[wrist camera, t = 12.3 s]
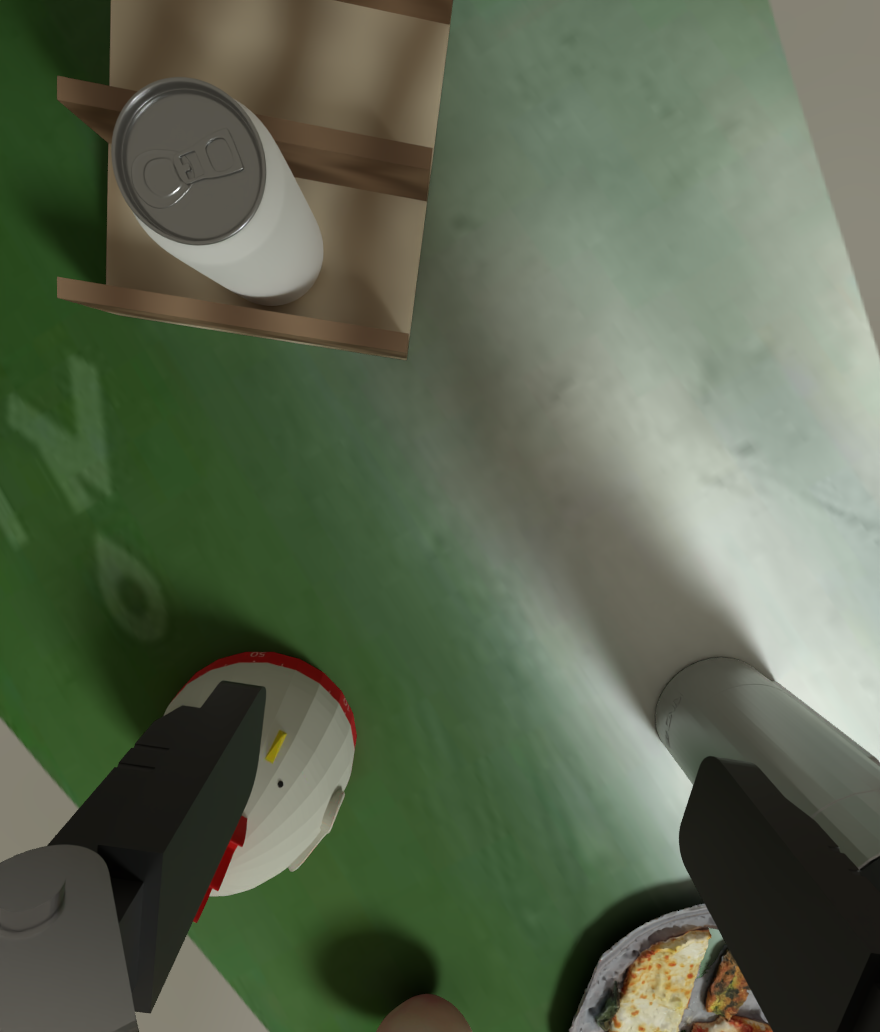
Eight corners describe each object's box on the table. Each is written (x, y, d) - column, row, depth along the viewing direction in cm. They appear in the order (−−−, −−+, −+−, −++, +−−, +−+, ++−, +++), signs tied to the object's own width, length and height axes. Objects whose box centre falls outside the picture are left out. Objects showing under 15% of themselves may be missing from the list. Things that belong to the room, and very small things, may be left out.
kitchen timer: (391, 711, 40) (382, 889, 26) (295, 843, 42) (236, 1077, 28) (227, 616, 38) (114, 753, 23) (133, 761, 40) (-24, 970, 25)
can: (194, 212, 31) (65, 100, 19) (299, 171, 31) (232, 34, 19) (242, 323, 32) (148, 281, 21) (342, 285, 32) (304, 222, 21)
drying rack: (450, 22, 31) (460, -65, 25) (406, 360, 35) (406, 352, 29) (127, -47, 29) (56, -157, 24) (118, 315, 33) (57, 297, 27)
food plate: (755, 1123, 52) (780, 1173, 49) (529, 1087, 50) (538, 1137, 46) (859, 909, 48) (894, 948, 44) (617, 859, 46) (634, 895, 42)
